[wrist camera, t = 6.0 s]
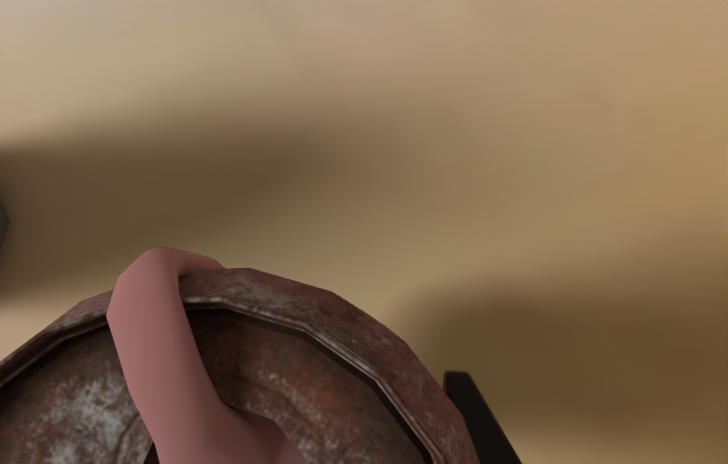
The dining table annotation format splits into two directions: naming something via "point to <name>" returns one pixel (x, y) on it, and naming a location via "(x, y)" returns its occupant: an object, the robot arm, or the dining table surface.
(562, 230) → the dining table surface
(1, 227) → the wine bottle
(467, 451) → the can
